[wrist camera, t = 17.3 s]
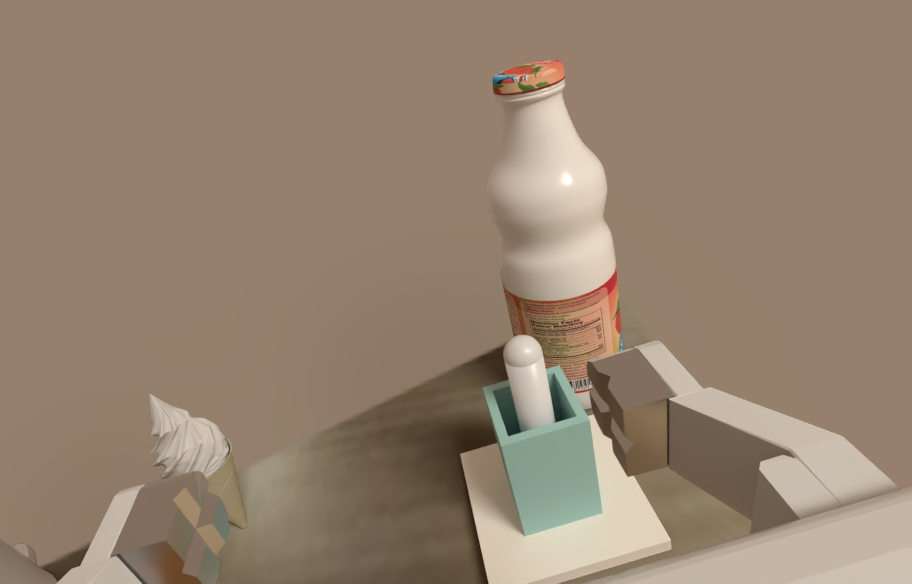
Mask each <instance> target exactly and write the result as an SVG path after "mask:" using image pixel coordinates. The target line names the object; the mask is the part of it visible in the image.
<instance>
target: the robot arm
mask: <svg viewBox="0 0 912 584" xmlns="http://www.w3.org/2000/svg"><path fill="white" fill-rule="evenodd" d="M587 376H588V378H589V379H590V381H591V383H592V384H593V387H592V388H591V390H590V392H589V394H590V401H591V406H592V410H593V413H594V417H595V419H596V421H597V423H598V426H599V428H600V430H601V431H602V433H603V435H604V436H606V437H608V438H610V439H612V448H613V453H614V454H615V456H616V458H617V460H618V461H619V463H620V465H621V467H622V468H623V470H624V472H625V474H626V475H627V477H630V476H634V475H638V474H641V473H645V472H649V471H653V470H657V469H661V468H665V467H669V469H671V470H672V471H674V472H676V473H677V474H679V475H680V476H682V477H683V478H685V479H687V480H688V481H690V482H691V483H693V484H695V485H696V486H698V487H699V488H701V489H702V490H704V491H706V492H707V493H709V494H710V495H712V496H714V497H715V498H717V499H718V500H720V501H721V502H723V503H725V504H726V505H728V506H729V507H731V508H732V509H734V510H736V511H737V512H739V513H740V514H742V515H744V516H745V517H747V518H748V519H750V520H751V521H752V524H751V531H750V534H749V535H745V536H742V537H739V538H735V539H732V540H728V541H725V542H722V543H718V544H715V545H712V546H708V547H705V548H701V549H698V550H695V551H691V552H688V553H684V554H681V555H678V556H674V557H671V558H667V559H664V560H661V561H657V562H654V563H651V564H647V565H644V566H640V567H637V568H634V569H630V570H627V571H623V572H620V573H617V574H613V575H610V576H607V577H603V578H600V579H596V580H593V581H590V582H586V583H583V584H912V487H908V488H905V489H900V488H899V487H898V486H897V485H896V484H895V483H894V482H892V481H891V480H890V479H889V478H888V477H887V476H886V475H884V473H882V472H881V471H880V470H879V469H878V468H877V467H876V466H875V465H874V464H872V463H871V462H870V461H869V460H868V459H867V458H866V457H865V456H863V454H861V453H860V452H859V451H858V450H857V449H856V448H855V447H853V446H852V445H851V444H850V443H849V442H848V441H847V440H846V439H845V438H843V436H840V435H838V434H835V433H832V432H830V431H827V430H824V429H822V428H819V427H816V426H813V425H811V424H808V423H805V422H803V421H800V420H797V419H795V418H792V417H789V416H787V415H784V414H781V413H778V412H776V411H773V410H770V409H767V408H765V407H762V406H760V405H757V404H754V403H752V402H749V401H746V400H744V399H741V398H738V397H735V396H733V395H730V394H727V393H725V392H722V391H719V390H716V389H714V388H711V387H709V388H706V389H703V388H702V387H701V386H700V385H699V384H698V383H697V382H696V380H695V379H694V378H693V377H692V376H691V375H690V374H689V373H688V372H687V370H686V369H685V368H684V367H683V366H682V365H681V364H680V363H679V362H678V361H677V359H676V358H675V357H674V356H673V355H672V354H671V353H670V352H669V350H668V349H667V348H666V347H665V346H664V345H663V344H662V343H661V342H659V341H657V340H656V341H653V342H649V343H646V344H643V345H639V346H636V347H634V348H630V349H627V350H624V351H620V352H617V353H613V354H610V355H606V356H603V357H599V358H596V359H592V360H589V361H587ZM208 485H209V481H208V480H207V478H206V477H205V476H204V475H203V473H202V472H201V471H192V472H188V473H184V474H180V475H176V476H172V477H169V478H165V479H161V480H157V481H153V482H149V483H146V484H144V485H139V486H135V487H132V488H127V489H123V490H121V491H120V492H119V493H118V494H116V495H115V496H114V498H113V500H112V502H111V504H110V506H109V509H108V510H107V513H106V515H105V517H104V519H103V521H102V523H101V525H100V527H99V529H98V531H97V533H96V535H95V537H94V539H93V541H92V543H91V545H90V547H89V549H88V551H87V553H86V555H85V557H84V559H83V561H82V563H81V565H80V566H79V567H76V568H72V569H71V570H70V571H69V572H68V573H67V574H66V575H65V576H64V577H63V578H62V579H60V580H59V581H58V582H57V580H56V579H55V577H54V576H53V575H52V574H51V573H49V572H47V571H45V570H43V569H42V568H40V567H39V566H38V565H37V560H36V554H35V551H34V550H33V549H32V548H31V547H29V546H28V545H26V544H24V543H21V544H17V545H14V546H11V545H9V544H8V543H6V542H5V541H4V540H2V539H1V538H0V584H216V582H217V578H218V574H219V570H220V566H221V563H220V562H219V560H218V558H217V557H216V555H217V554H218V552H219V551H220V550H221V549H222V547H223V546H224V545H225V544H226V541H227V536H228V532H229V521H228V513H227V510H226V507H225V504H224V503H223V501H222V500H221V498H220V497H219V496H217V495H215V494H212V493H210V492H207V488H208Z"/></svg>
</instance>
